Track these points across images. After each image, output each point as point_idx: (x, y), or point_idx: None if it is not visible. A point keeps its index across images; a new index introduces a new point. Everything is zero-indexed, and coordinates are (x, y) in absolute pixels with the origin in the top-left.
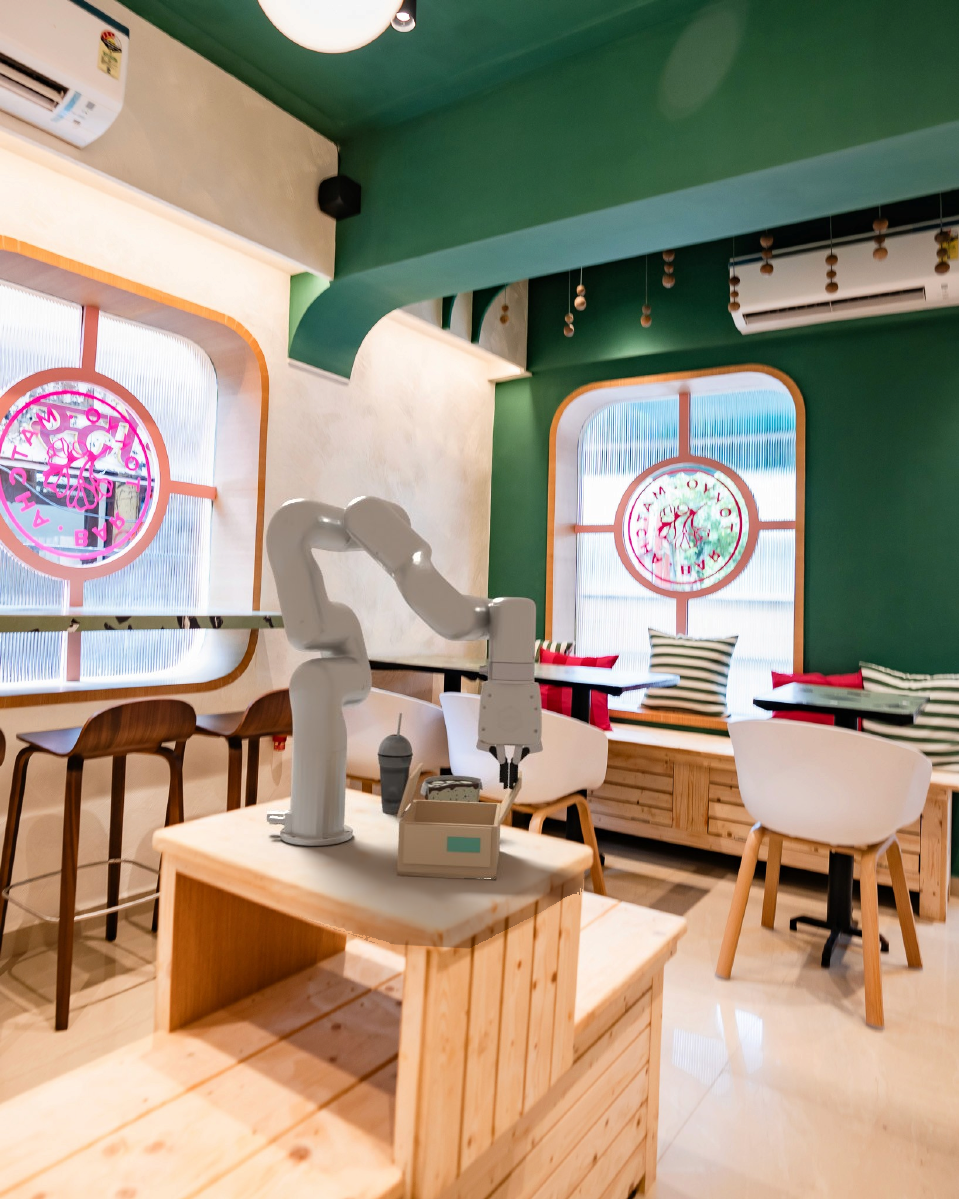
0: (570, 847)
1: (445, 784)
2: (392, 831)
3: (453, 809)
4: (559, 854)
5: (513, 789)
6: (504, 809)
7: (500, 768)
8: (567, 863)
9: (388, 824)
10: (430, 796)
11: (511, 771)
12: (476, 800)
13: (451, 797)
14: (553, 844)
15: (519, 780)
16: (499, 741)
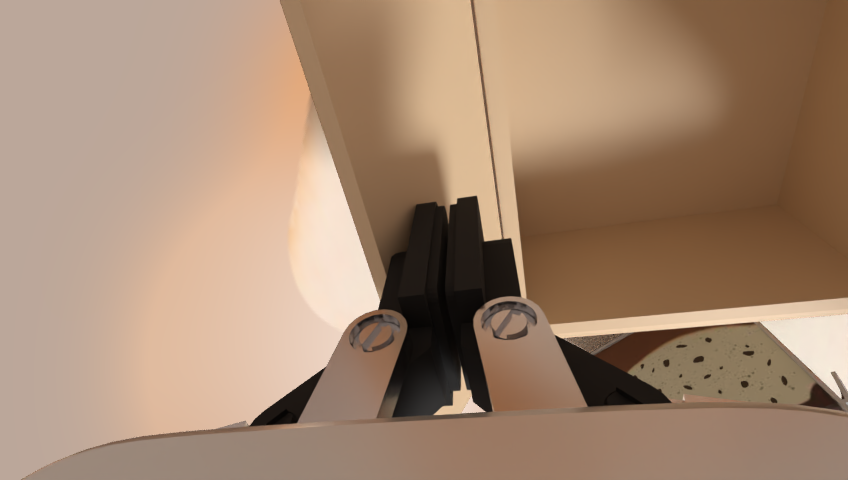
0: (336, 312)
1: None
2: (835, 324)
3: (699, 290)
4: (344, 255)
5: (415, 201)
6: (445, 45)
7: (513, 289)
8: (302, 188)
9: (841, 374)
10: (802, 380)
11: (420, 260)
12: None
13: None
14: None
15: (363, 215)
16: (565, 441)
